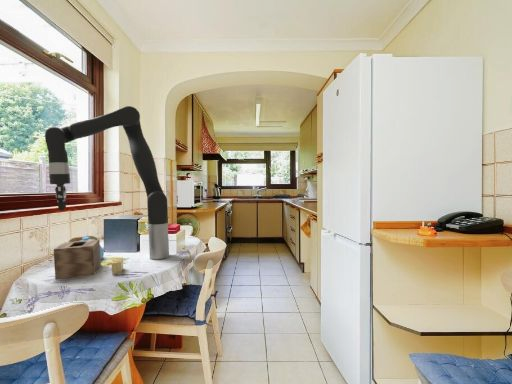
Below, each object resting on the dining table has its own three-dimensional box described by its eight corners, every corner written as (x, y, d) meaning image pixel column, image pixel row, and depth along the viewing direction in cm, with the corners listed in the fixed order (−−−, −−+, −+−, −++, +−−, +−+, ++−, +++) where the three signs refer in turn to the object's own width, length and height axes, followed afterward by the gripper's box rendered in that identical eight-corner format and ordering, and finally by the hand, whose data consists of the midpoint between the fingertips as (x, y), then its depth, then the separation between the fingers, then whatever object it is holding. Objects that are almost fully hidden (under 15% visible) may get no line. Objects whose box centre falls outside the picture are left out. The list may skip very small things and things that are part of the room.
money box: (100, 264, 134) (99, 239, 133) (94, 274, 121) (92, 246, 120) (65, 268, 130) (64, 242, 129) (55, 278, 116) (53, 249, 116)
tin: (67, 253, 156) (66, 238, 156) (68, 252, 159) (67, 237, 159) (98, 250, 162) (98, 235, 162) (99, 249, 165) (98, 234, 165)
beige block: (123, 269, 127) (122, 257, 127) (121, 273, 121) (120, 262, 121) (114, 270, 126) (114, 258, 126) (112, 275, 120) (111, 263, 120)
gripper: (68, 172, 123) (71, 210, 124) (70, 173, 135) (73, 207, 136) (47, 173, 119) (50, 211, 120) (50, 173, 132) (53, 209, 133)
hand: (62, 209), depth 128 cm, fingers open, 8 cm apart
